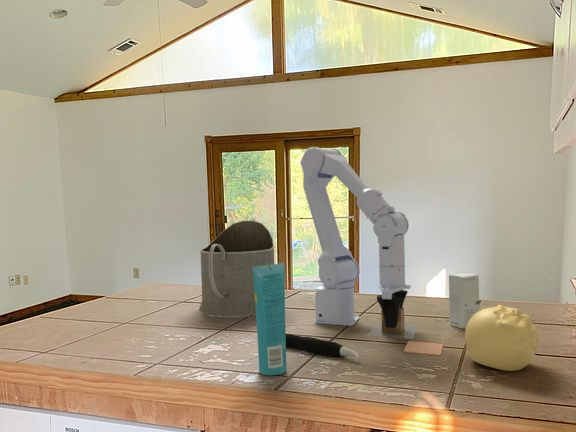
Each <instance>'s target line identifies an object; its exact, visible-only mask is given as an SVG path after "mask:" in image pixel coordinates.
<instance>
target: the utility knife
mask: <svg viewBox="0 0 576 432" xmlns="http://www.w3.org/2000/svg"><path fill="white" fill-rule="evenodd" d="M286 348H289V349H293V350H294V349H295V350H297V351H298V350H299V351H303V352H307V353H311V354H312V353H313V354H315V355H323V356H328V357H333V358H340V357H353V358H356V359H358V358H359V354H358V352H356V351H355V350H354V349H350V348H348V347H345V346H343V345H342V344H340V343H338V342H335V341H330V340H325V339H319V338H317V337H312V336H302V335H296V334H290V333H286Z"/></svg>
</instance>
